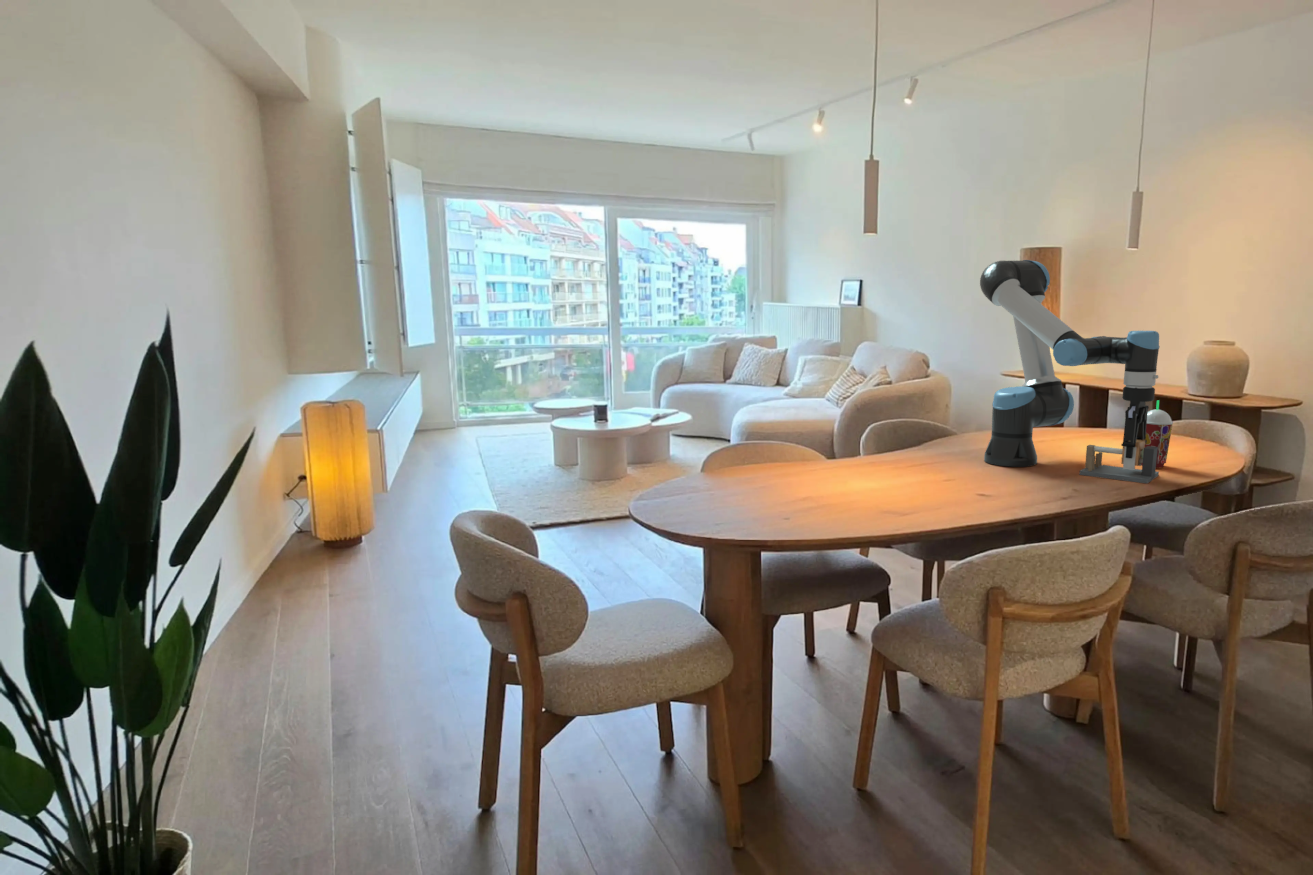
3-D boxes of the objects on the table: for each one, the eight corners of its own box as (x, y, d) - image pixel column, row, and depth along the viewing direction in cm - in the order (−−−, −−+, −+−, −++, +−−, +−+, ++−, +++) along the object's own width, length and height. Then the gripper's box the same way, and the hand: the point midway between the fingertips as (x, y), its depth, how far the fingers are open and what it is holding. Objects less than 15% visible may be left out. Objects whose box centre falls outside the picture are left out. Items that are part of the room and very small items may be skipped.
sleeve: (1121, 464, 213) (1123, 441, 212) (1127, 460, 217) (1129, 438, 216) (1137, 465, 210) (1139, 443, 209) (1143, 462, 214) (1145, 440, 213)
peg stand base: (1079, 474, 219) (1081, 444, 217) (1092, 467, 227) (1094, 438, 225) (1147, 483, 206) (1150, 451, 205) (1158, 475, 215) (1161, 444, 213)
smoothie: (1175, 468, 223) (1181, 401, 219) (1146, 469, 223) (1152, 402, 219) (1157, 462, 231) (1163, 398, 227) (1129, 463, 231) (1135, 399, 227)
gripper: (1145, 390, 201) (1138, 474, 205) (1163, 383, 214) (1156, 463, 218) (1113, 388, 206) (1107, 471, 210) (1133, 382, 219) (1126, 459, 223)
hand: (1132, 466), depth 214 cm, fingers closed on sleeve, 6 cm apart
